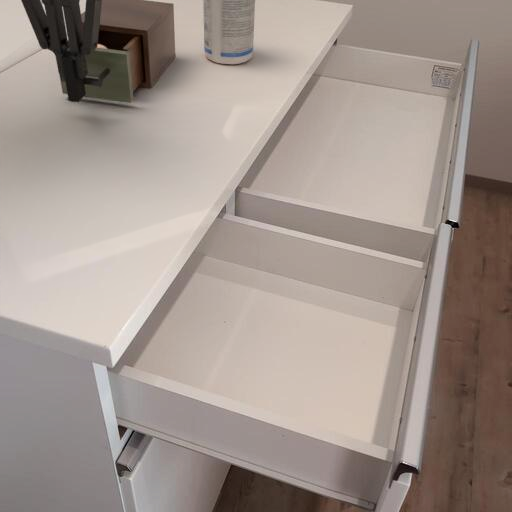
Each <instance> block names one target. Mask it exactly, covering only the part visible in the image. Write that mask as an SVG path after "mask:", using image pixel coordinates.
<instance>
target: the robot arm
mask: <svg viewBox="0 0 512 512" xmlns="http://www.w3.org/2000/svg"><path fill="white" fill-rule="evenodd" d="M20 1H21V3H22V7H23V8H24V11H25V13H26V16H27V18H28V21H29V23H30V25H31V28H32V30H33V32H34V35H35V37H36V40H37V42H38V44H39V46H40V49H42V50H48V51H51V52H52V53H53V54H54V56H55V61H56V66H57V67H56V68H57V72H58V74H60V75H59V77H60V76H63V77H65V82H66V88H67V94H66V95H67V99H68V102H72V103H73V102H74V103H79V102H81V100H82V99H83V98H85V95H86V92H85V85H84V78H85V77H86V76H87V74H88V70H87V63H86V56H85V55H89V54H90V53H92V52H93V51H94V50H95V49H96V48H97V45H98V36H99V26H100V16H101V6H102V0H86V1H85V10H84V12H85V20H84V32H83V25H82V18H81V14H82V12H81V5H80V1H81V0H20ZM43 5H44V6H43ZM68 41H69V44H68ZM69 47H70V50H69V51H67V49H68V48H69Z"/></svg>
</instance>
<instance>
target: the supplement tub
mask: <svg viewBox="0 0 512 512" xmlns="http://www.w3.org/2000/svg"><path fill="white" fill-rule="evenodd" d="M202 1H203V2H202V3H203V5H202V6H203V7H202V8H203V49H204V55H205V57H206V58H207V59H208V60H210V61H212V62H214V63H216V64H222V65H238V64H244V63H246V62H247V61H249V60H251V58H252V57H253V56H254V37H255V15H256V14H255V12H256V10H255V9H256V8H255V7H256V0H202Z"/></svg>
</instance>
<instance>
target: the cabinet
mask: <svg viewBox="0 0 512 512" xmlns="http://www.w3.org/2000/svg"><path fill="white" fill-rule="evenodd" d="M81 18H82V25H83V28H84V20H85V11H84V12H81ZM99 30H104V31H112V32H120V33H127V34H135V35H143V49H144V62H145V76H146V77H145V78H144V79H143V80H142V82H141V83H140V84H139V85H138V87H137V88H145V89H152V88H153V87H154V85H155V84H156V83H157V82H158V81H159V79H160V78H161V77H162V75H163V74H164V73H165V71H166V70H167V69H168V68H169V66H170V65H171V64H172V62H174V60H175V58H176V37H175V36H176V35H175V34H176V33H175V7H174V3H171V2H162V1H156V0H155V1H154V0H102V6H101V16H100V26H99Z"/></svg>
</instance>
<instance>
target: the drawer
mask: <svg viewBox="0 0 512 512" xmlns="http://www.w3.org/2000/svg"><path fill="white" fill-rule="evenodd" d="M83 32H84V28H83ZM68 44H69V41H68ZM98 44H100V45H103V46H105V47H106V48H107V49H104V48H96V49H95V50H94V51H93V52H92V53H90V54H89V55H85V56H86V63H87V70H88V74H87V76H86V77H85V78H84V85H85V92H86V95H85V96H84V98H91V99H100V100H107V101H114V102H121V103H129V104H131V103H133V101H134V91H136V89H137V88H139V87H138V85H139V84H140V83H141V82H142V80H143V79H144V78H145V77H146V76H145V62H144V49H143V35H135V34H127V33H120V32H112V31H104V30H99V36H98ZM69 50H70V47H69V48H68V49H67V51H69ZM58 74H59V73H58ZM58 76H59V80H60V85H61V91H62V92H61V93H62V94H63V95H64V94H65V95H68V94H67V88H66V82H65V77H63V76H60V74H59V75H58Z"/></svg>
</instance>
